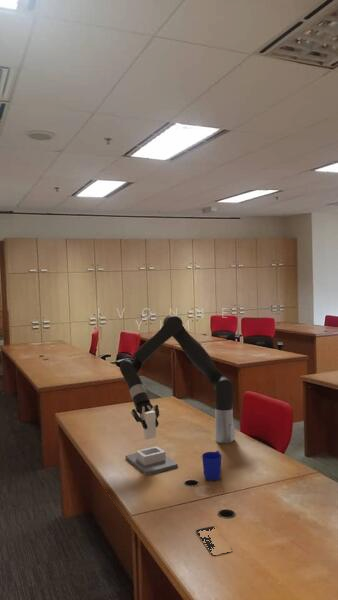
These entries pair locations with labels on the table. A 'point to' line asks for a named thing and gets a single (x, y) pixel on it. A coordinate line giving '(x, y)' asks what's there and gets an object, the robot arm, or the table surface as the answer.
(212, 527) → the phone
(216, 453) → the mug
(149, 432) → the rectangular block
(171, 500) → the table surface
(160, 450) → the block insertion holder
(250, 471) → the table surface
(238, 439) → the table surface
